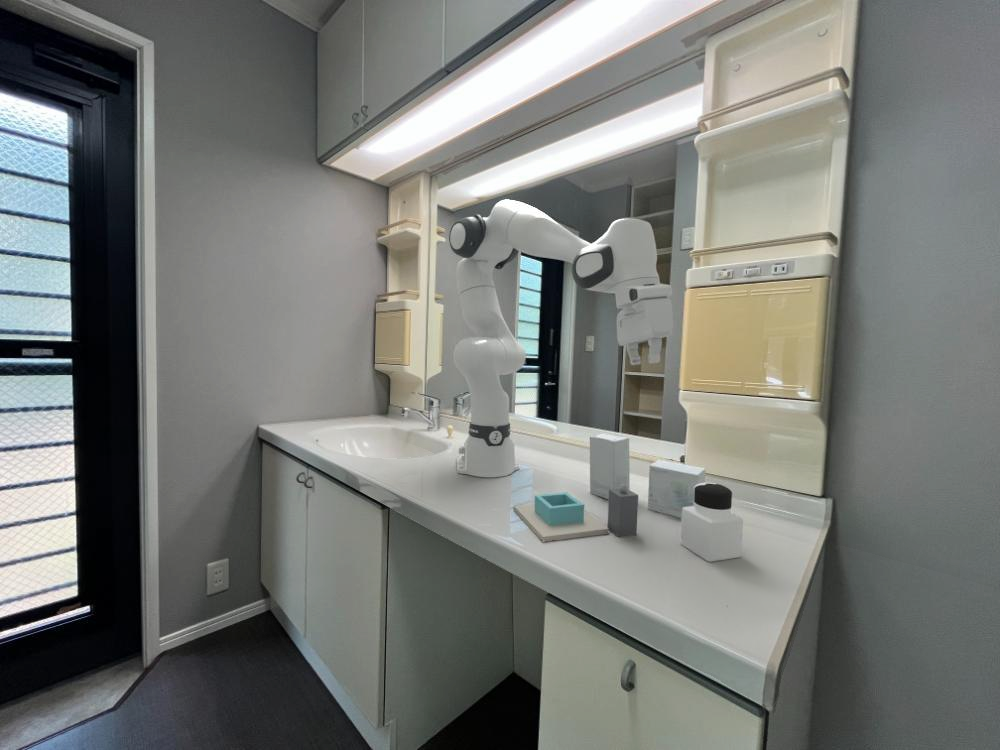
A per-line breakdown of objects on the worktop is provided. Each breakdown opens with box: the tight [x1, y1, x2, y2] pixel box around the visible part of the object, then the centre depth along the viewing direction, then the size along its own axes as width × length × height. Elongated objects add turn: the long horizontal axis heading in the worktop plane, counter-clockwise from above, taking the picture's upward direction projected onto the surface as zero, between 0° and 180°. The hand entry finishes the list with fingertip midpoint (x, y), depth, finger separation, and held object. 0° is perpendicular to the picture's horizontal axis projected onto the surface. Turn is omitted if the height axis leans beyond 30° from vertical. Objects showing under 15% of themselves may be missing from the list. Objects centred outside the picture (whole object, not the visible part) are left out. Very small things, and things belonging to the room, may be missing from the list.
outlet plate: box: [513, 492, 610, 542], centre depth 87 cm, size 16×14×4 cm
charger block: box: [606, 484, 639, 538], centre depth 82 cm, size 4×4×10 cm
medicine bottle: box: [680, 482, 744, 563], centre depth 75 cm, size 7×7×12 cm
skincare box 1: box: [589, 433, 631, 501], centre depth 102 cm, size 8×6×15 cm
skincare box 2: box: [647, 459, 706, 519], centre depth 93 cm, size 10×6×10 cm, turn 50°
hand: (644, 364), depth 85 cm, fingers open, 8 cm apart
